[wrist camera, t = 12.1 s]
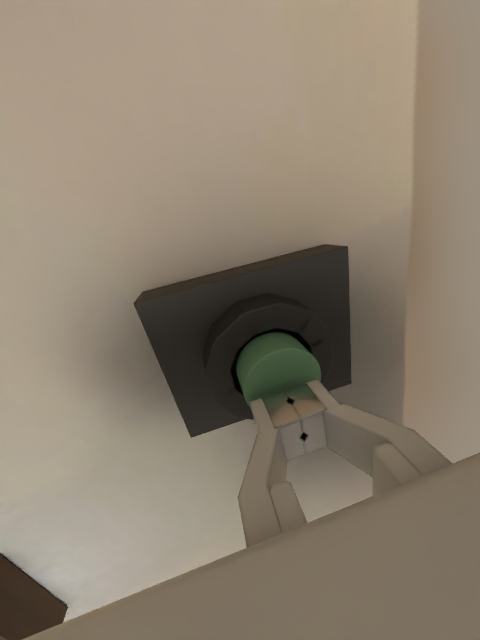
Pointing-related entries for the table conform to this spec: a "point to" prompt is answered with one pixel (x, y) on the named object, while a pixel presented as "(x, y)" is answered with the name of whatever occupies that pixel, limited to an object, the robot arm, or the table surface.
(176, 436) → the table surface
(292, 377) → the release button
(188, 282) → the green mushroom switch plate
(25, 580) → the plate
